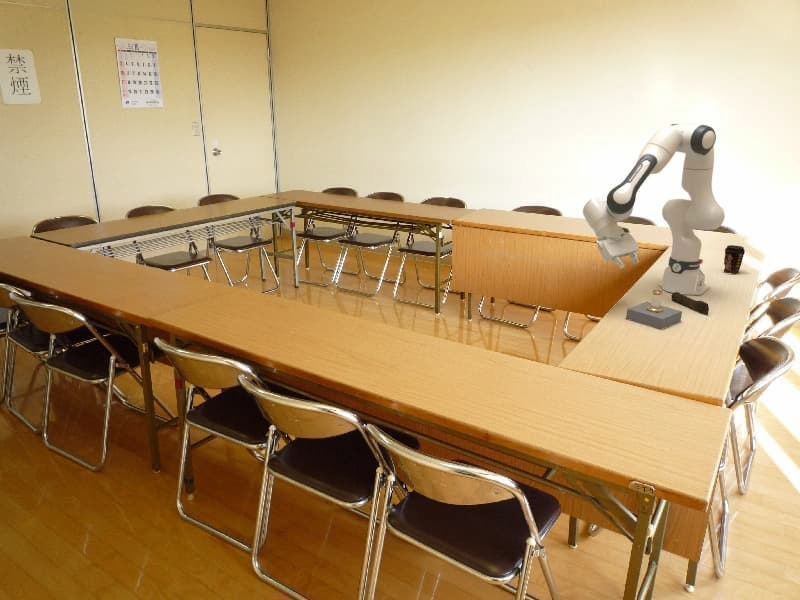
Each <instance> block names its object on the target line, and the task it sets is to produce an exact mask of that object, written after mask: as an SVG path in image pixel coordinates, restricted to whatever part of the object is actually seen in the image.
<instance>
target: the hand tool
mask: <svg viewBox="0 0 800 600" xmlns="http://www.w3.org/2000/svg"><path fill="white" fill-rule="evenodd" d="M671 301H673V302H677V303H680V304H682V305H683V306H685V307H689V308H691V309H692V310H694V312H696V313H699V314H703V315H706V316H708V315H709V311H710V308H709V307H710V306H709V304H708V303H707V302H705V301H703V300H701V299H700V300H695V299H693V298H690V297H688V296H687V295H685V294H680V293H679V292H675V293H672V294H671Z"/></svg>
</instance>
